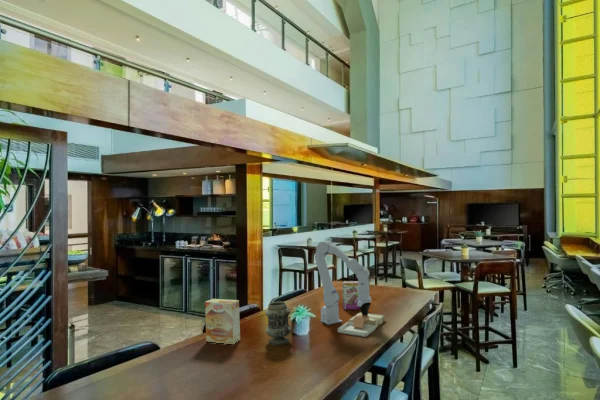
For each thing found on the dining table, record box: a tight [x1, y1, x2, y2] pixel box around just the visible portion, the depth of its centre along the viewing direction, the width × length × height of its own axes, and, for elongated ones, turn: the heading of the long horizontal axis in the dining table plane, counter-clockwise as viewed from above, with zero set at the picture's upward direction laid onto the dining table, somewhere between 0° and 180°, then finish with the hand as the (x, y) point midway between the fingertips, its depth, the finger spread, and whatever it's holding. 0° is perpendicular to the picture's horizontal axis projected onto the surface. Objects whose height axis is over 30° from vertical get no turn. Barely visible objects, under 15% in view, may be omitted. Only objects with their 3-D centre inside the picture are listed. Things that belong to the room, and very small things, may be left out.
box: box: [337, 321, 376, 338], centre depth 184 cm, size 13×15×2 cm
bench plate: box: [348, 311, 385, 329], centre depth 196 cm, size 15×14×3 cm
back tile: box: [357, 315, 369, 322], centre depth 191 cm, size 5×5×2 cm
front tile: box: [353, 316, 365, 329], centre depth 187 cm, size 5×5×2 cm
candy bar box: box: [342, 280, 361, 311], centre depth 226 cm, size 11×5×16 cm, turn 84°
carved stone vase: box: [264, 301, 292, 347], centre depth 173 cm, size 12×12×18 cm
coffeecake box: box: [204, 298, 241, 345], centre depth 177 cm, size 15×7×20 cm, turn 70°
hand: (365, 317), depth 194 cm, fingers closed
